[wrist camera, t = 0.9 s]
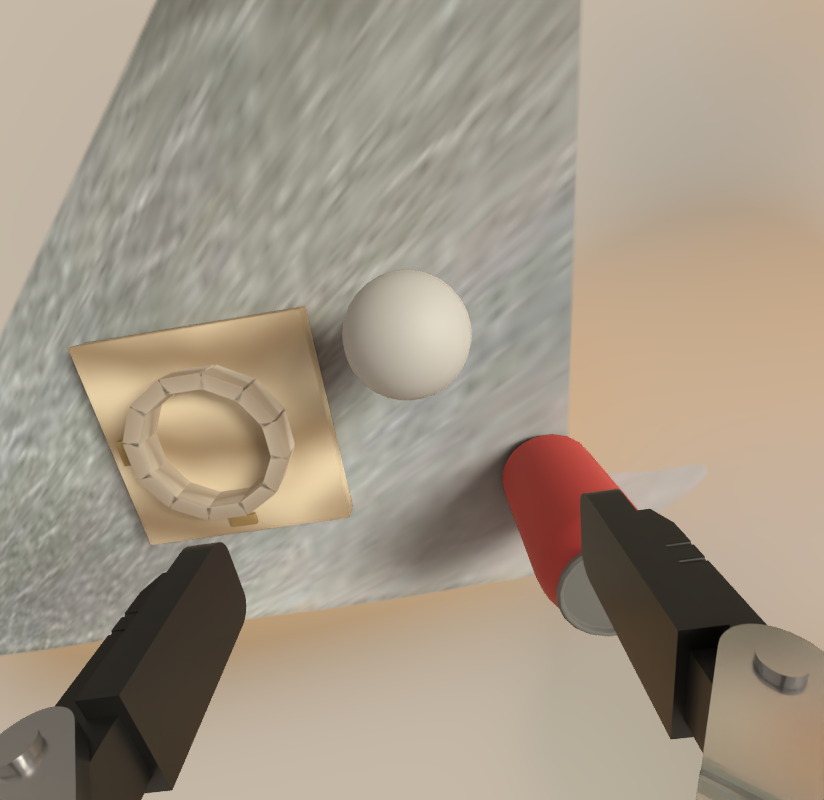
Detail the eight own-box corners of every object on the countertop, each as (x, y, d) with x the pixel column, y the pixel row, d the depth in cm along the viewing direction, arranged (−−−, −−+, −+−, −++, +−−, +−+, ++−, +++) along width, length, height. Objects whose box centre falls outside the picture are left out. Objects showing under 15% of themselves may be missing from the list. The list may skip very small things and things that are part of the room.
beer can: (609, 462, 32) (716, 580, 21) (549, 525, 34) (617, 665, 23) (541, 413, 31) (615, 509, 20) (481, 481, 33) (518, 605, 21)
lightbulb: (457, 355, 30) (481, 414, 19) (366, 362, 30) (341, 424, 19) (453, 260, 28) (478, 268, 17) (356, 267, 28) (322, 279, 17)
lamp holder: (84, 343, 29) (42, 355, 26) (305, 306, 29) (290, 313, 25) (161, 532, 34) (135, 563, 31) (352, 505, 33) (346, 534, 30)
